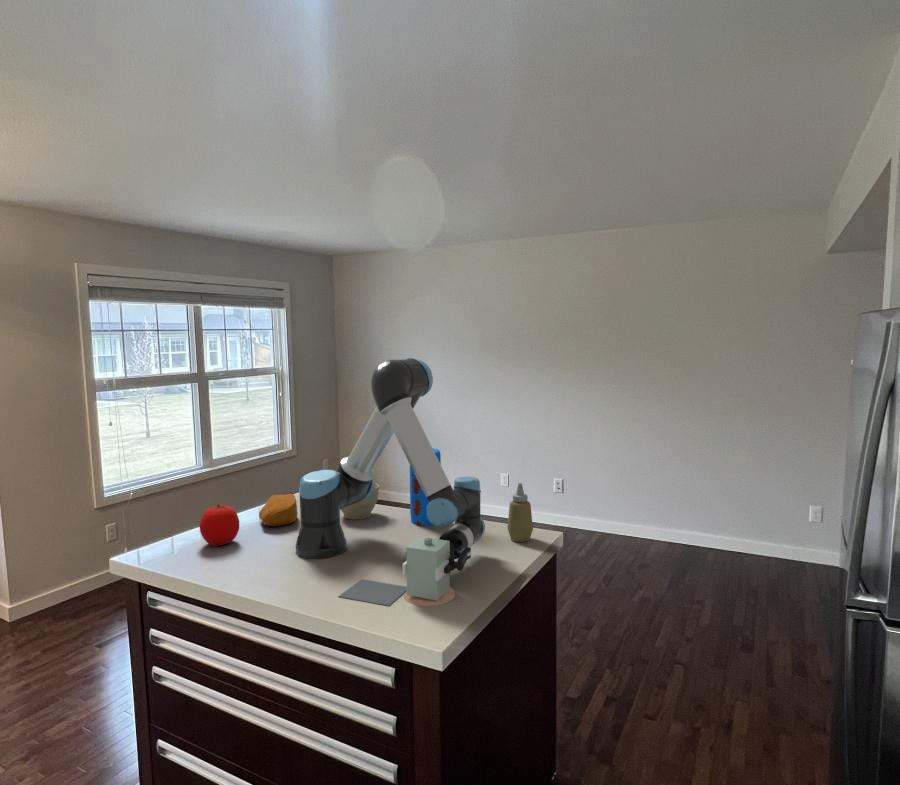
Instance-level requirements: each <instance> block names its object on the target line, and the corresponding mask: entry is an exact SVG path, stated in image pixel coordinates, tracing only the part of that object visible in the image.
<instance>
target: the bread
mask: <svg viewBox="0 0 900 785" xmlns="http://www.w3.org/2000/svg"><path fill="white" fill-rule="evenodd" d="M297 502H298V501H297V499H296V496H295V494H293V493H288V494H273V495H271V496H270V497H269V498H268V500H267V501H266V503H265V504H264V505H263V507H261V509H260V511H259V512H258V516H259V519H260V521H261V522H262V524H264V525H266V526H270V527H280V526H286V525H290V524H292V523H294V522H295V521H296V520H297V518H298V514H299V513H298V505H297Z"/></svg>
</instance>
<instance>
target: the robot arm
mask: <svg viewBox="0 0 900 785" xmlns="http://www.w3.org/2000/svg"><path fill="white" fill-rule="evenodd" d="M433 383H434V377H433V374H432V369H431V368H430V366H429V365H428V364H427V363H426V362H425V361H423V360H421V359H418V358H412V357H409V358H405V359H388V360H385V361H383V362H381V363H380V364H378V366H376V367H375V369H374V370H373V372H372V376H371V381H370V388H371V394H372V397H373V400H374V403H375V405H376V406H375V409H374V410H373V412H372V414H371V416H370V418H369V420H368V421H367V423H366V425H365V426H364V428H363V431H362V432H361V434H360V436H359V438H358V440H356V443H355V445H354V446H353V449H352V450H351V452H350V454H349V456H345V457H343V458H341V461H340V462H339V464H338V466H337V468H336V470H333V469H320V470H316V471H315V470H314V471H311V472H309V473H307V474H305V475H303V476H302V477H301V479H300V480H299V489H298V495H299V508H300V509H299V512H300V529H299V532H298V535H297V537H296V538H297V539H296V542H295V554H296V556H299V557H302V558H306V559H326V558H330V557H334V556H338V555H341V554H342V553H344V552H345V551H346V550H347V539H346V537H345V533H344V530H343V527H342V525H341V510H340V509H342V508H345V507H347V506H350V505H352V504H355V503H358V502H360V501H362V500H363V499H365V498H366V497H368V496H369V494H370V493H371V491H372V489H373V484H374V483H375V482H374V481H373V480H374V477H375V472H374V468H375V467H376V464H377V462H378V461H379V459H380V458H381V455H383V452H384V451H385V449H386V447H387V445H388V444H389V441H390V440H391V438H392V436H393V434H394V436H395V437H396V439H397V441H398V444H399V445H400V447H401V450H402V452H403V453H404V455H405V457H406V460H407V462H408V464H409V467H410V466H411V468H412V470H413V472H414V474H415V476H416V478H417V480H418V482H419V484H420V486H421V488H422V490H423V492H424V494H425V496H426V498H427V500H428V502H429V504H428V506H427V509H426V510H427V517H428V519H429V521H430V522H431V523H432V524H434V525H433V526H436V527H441V528H442V527H446V526H447V525H451V524H453V523H454V524H453V525H452V526H451V527H450V528H448V529H447V530H446V531H445V532H444V533H442V534H441V536H440V537H439V538H438V539H440V540H447V541H450V557H449V560H445V561H444V562H443V563H442V564H441V565H440V566H439V567H438V568H437V569H435V575H436V581H439V580H440V579H441V578H442V577H443V576H444V575H445V574H448V573H451V572H453V571H455V570H457V571H459V572H460V571H461V572H462V571H463V570H464V567H465V566H466V563H467V561H468V560H470V559H471V558H472V549H471V547H472V546H473V545H474V544H475V543H477V542H479V540H480V539H481V538H482V536H483V535H484V534H485V531H486V524H485V521H484V519H483V518H482V516H481V493H482V492H481V482H480V480H479V478H477V477H474V476H458V477H456V478H455V479H454V482H453V483H454V484H453V487H452V485H451V483H450V481H449V479H448V477H447V475H446V472H445V470H444V469H443V467H442V464H441V465H440V463H439V461H438V459H437V457H436V455H435V452H434V450H433V449H434V448H433V447H432V444H431V442H430V440H429V439H428V436H427V435H426V433H425V431H424V429H423V426H422V424H421V422H420V420H419V418H418V416H417V415H416V413H415V411H414V408H415V406H416V405H417V404H418V401H419V400H420V398H421V397H424V396H426V394H428V393H429V392H430V391H431V389H432V386H433ZM456 560H457V561H456ZM401 566H402V576H407V559H406V558H405V561H404V562H402V565H401Z"/></svg>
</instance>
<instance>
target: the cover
mask: <svg viewBox="0 0 900 785" xmlns="http://www.w3.org/2000/svg"><path fill="white" fill-rule="evenodd" d="M405 549H406V551H405V560H406V559H407V574H406V587H407V595H409V596H414V597H420V598H425V599H431V600H436V601H437V600H438V599H439V598H440V597H441V596H442V595H443V594H444V593H445V592H446V591H447V590H448V589H449V588H450V585H451V584H450V583H451V581H450V580H451V576H450V573H451V572H450V573H448V574H445V575H444V576H443V577H442V578H441V579H440V580H439V581H436V575H435V569H437V568H438V567H439V566H440V565H441V564H442V563H443V562H444V561H445V560H449V557H450V541H447V540H440V539H439V538H433V537H432V538H431V537H425V536H419V537H418V538H417V539H416V540H414V541H413V542H411V543H410V544H409V545H407V546H406V547H405Z"/></svg>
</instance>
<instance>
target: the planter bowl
mask: <svg viewBox="0 0 900 785" xmlns="http://www.w3.org/2000/svg"><path fill="white" fill-rule="evenodd" d="M379 489H380V485H379V484H378V483H376V482H374V484H373V489H372V491H371V493H370V494H369V496H368V497H366V498H365V499H363V500H362V501H360V502H358V503H355V504H352V505H350V506H347V507H345V508H342V509H340V512H342V513H343V516H344V519H348V520H361V519H367V518H369V517H371V515H372V511H373V510H374V509H375V507H376V504H377V502H378V500H379Z"/></svg>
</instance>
